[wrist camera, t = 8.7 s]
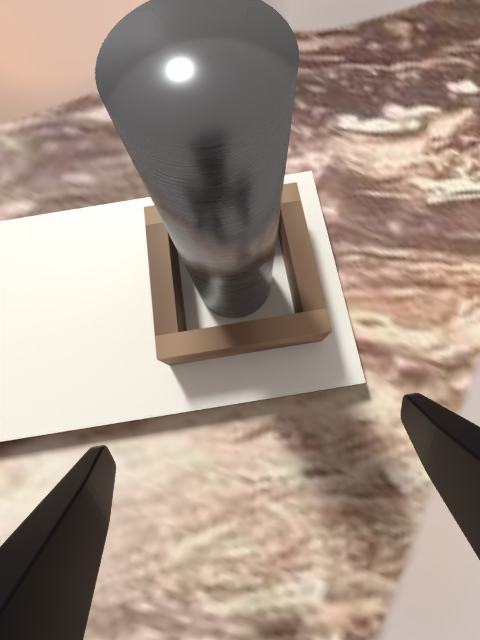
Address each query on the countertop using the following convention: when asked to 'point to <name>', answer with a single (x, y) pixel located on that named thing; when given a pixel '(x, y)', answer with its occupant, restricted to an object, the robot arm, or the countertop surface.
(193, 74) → the grey tall rounded cylinder
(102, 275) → the board
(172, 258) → the square wooden frame
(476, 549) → the robot arm
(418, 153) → the countertop surface
